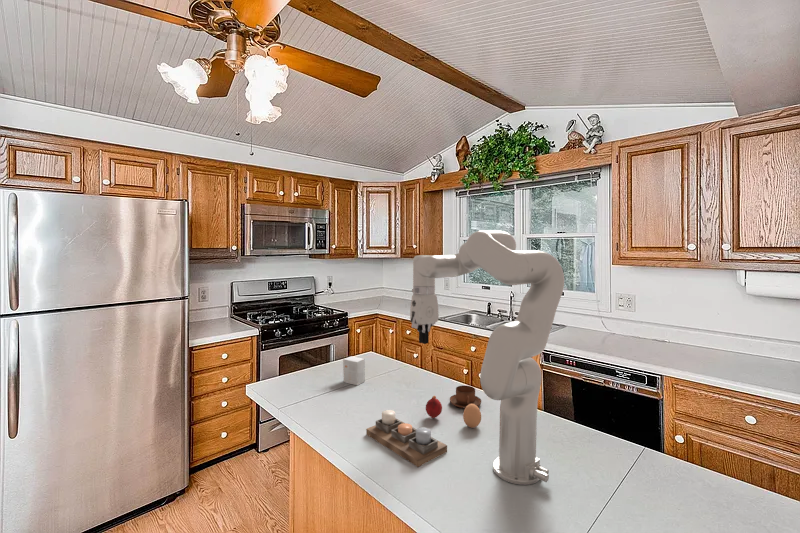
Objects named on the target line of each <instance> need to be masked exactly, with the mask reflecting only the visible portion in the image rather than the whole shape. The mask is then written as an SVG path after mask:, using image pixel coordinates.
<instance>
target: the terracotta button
mask: <svg viewBox="0 0 800 533" xmlns="http://www.w3.org/2000/svg"><path fill="white" fill-rule="evenodd" d="M412 427H413V426H412V424H410V423H406V422H404V423H403V424H400V425H398V433H400V434H402V435H403V436H406V435H408V434H410V433H412Z"/></svg>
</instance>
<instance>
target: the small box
mask: <svg viewBox="0 0 800 533" xmlns="http://www.w3.org/2000/svg"><path fill="white" fill-rule="evenodd" d="M342 361H343V362H342V363H343V364H342V366H343V367H342V368H343V370H342V371H343V383H346V384H351V385H354V386H359V385H361V384H362V383H365V382H366V371H365V370H366V366H365V365H366V364H365V363H366V362H365V358H362V357H356V356H352V355H351V356H348V357H346V358H343V359H342Z"/></svg>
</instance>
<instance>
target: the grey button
mask: <svg viewBox="0 0 800 533" xmlns="http://www.w3.org/2000/svg"><path fill="white" fill-rule="evenodd" d="M415 429H416V443H418V444H420V445H427V444H429V443H430V442H431V437H432V430H431V429H430V428H429V427H419V428H415Z"/></svg>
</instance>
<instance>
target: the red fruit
mask: <svg viewBox="0 0 800 533" xmlns="http://www.w3.org/2000/svg"><path fill="white" fill-rule="evenodd" d="M442 411H443V406H442V403H441V401H440V400H439V399H437V396H436V395H433V396H432V397H431V399H429V400H428V401H427V402H426V404H425V412H426V413H427V415H428V416H429V417H430V418H431V419H436V418H437V417H439V416H440V415H441V414H442Z"/></svg>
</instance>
